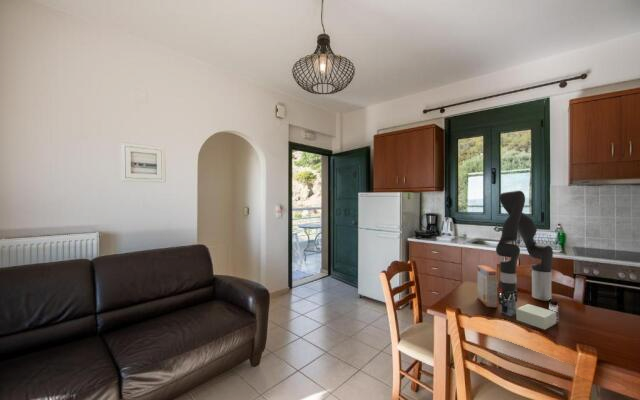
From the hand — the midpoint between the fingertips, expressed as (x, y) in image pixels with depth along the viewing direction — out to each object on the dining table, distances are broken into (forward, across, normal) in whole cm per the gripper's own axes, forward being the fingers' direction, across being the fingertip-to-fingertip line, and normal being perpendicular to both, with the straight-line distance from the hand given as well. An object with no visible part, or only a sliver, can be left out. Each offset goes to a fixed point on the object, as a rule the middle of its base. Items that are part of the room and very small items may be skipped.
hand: (508, 311), depth 146 cm
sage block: (+2, -2, +12) cm, 12 cm away
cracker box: (+1, -4, -14) cm, 15 cm away
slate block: (+1, 0, 0) cm, 1 cm away
